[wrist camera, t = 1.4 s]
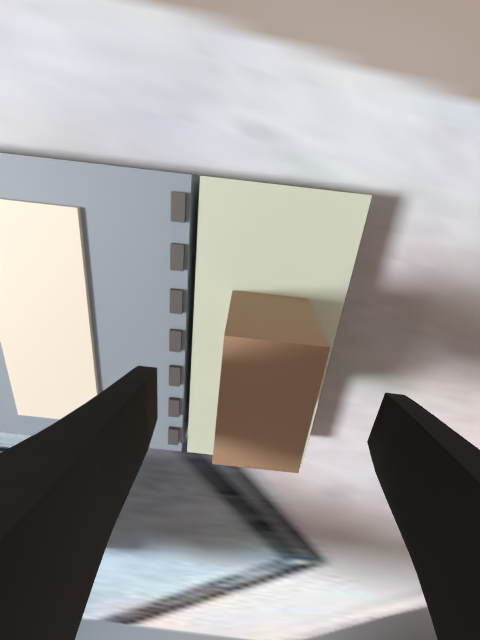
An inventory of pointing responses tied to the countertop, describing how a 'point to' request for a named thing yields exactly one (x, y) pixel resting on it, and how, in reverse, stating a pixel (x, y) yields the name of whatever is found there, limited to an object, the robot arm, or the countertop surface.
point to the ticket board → (94, 288)
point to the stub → (266, 315)
